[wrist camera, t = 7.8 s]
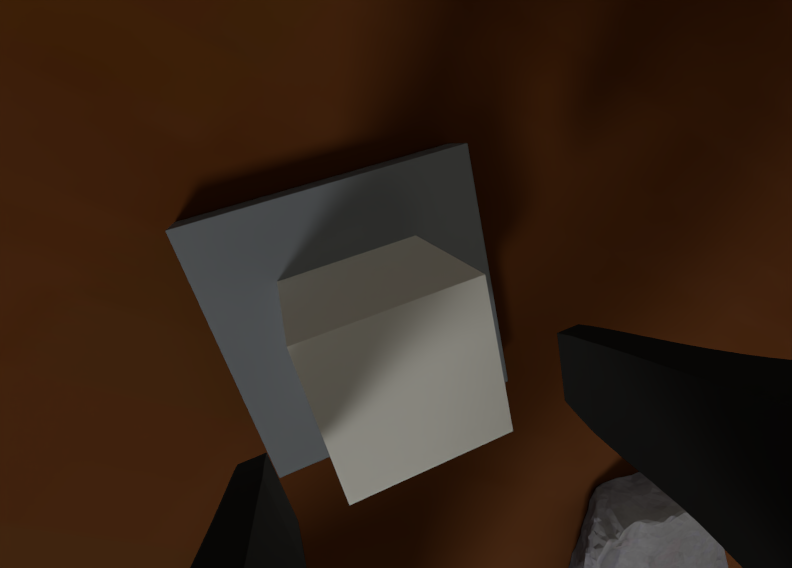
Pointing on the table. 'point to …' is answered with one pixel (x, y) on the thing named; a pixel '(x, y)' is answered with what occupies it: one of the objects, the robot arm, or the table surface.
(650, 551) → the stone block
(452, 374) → the cube
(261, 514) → the robot arm
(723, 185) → the table surface
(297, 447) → the slate tile
